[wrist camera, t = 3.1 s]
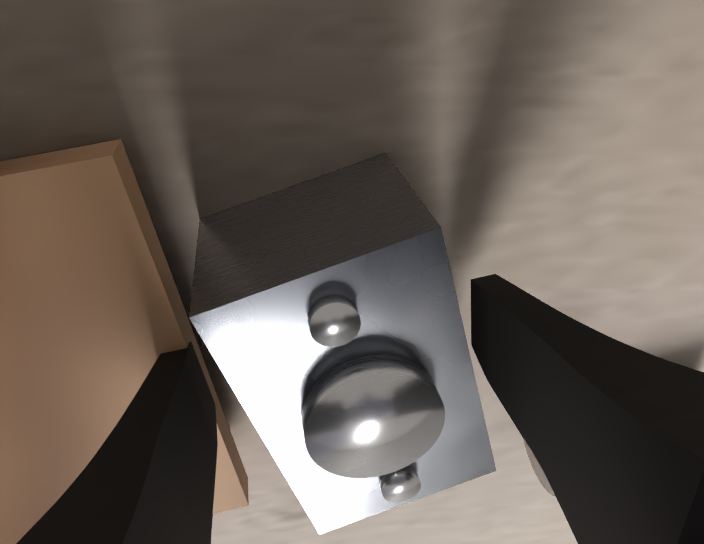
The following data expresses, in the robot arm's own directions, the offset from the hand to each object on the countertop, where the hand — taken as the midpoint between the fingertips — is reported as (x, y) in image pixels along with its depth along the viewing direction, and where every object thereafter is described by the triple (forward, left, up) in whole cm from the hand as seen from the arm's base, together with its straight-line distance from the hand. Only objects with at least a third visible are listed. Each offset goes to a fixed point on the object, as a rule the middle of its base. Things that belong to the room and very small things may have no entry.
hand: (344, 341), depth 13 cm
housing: (0, 0, -2) cm, 2 cm away
